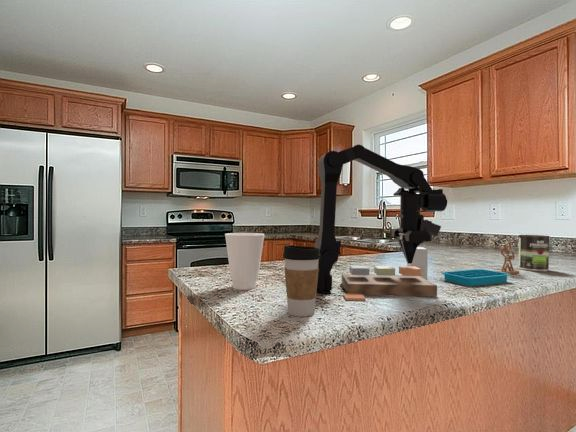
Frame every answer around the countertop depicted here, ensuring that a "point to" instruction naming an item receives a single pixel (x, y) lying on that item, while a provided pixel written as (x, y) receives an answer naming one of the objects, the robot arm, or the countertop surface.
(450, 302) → the countertop surface
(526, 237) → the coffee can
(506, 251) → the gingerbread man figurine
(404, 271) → the terracotta button
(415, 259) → the small box
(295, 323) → the countertop surface
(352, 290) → the wooden sorting tray
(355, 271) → the slate button
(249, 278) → the cup
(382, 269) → the sage button
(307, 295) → the coffee cup
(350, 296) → the tile
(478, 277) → the ice cube tray
